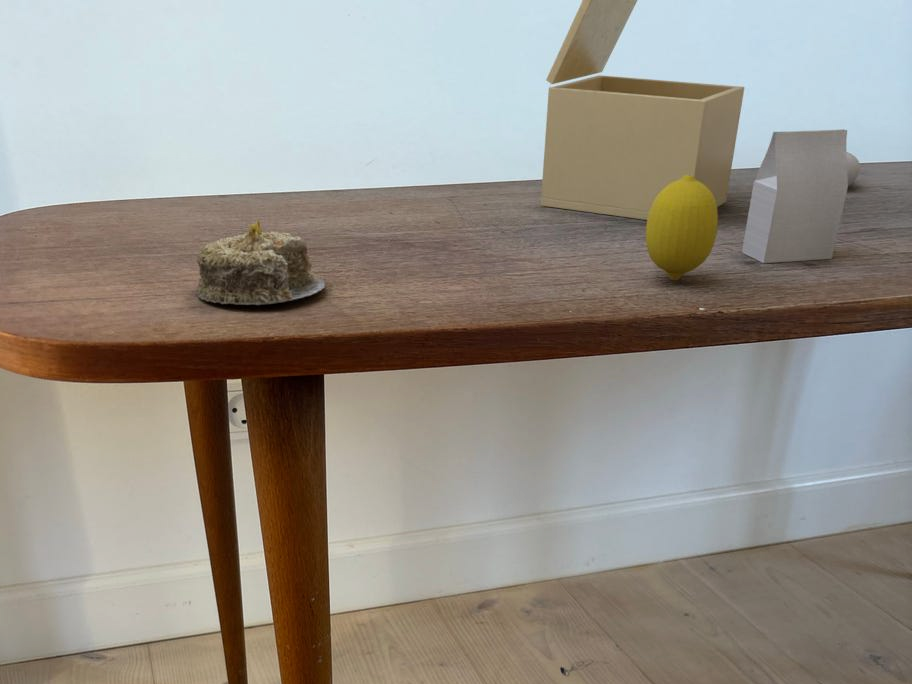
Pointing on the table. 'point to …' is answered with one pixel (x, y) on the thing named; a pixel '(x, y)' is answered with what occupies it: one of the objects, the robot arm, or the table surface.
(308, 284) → the cake
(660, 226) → the lemon
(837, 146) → the grey upright tapered block
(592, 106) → the tan open box
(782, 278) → the table surface
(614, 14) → the box lid
